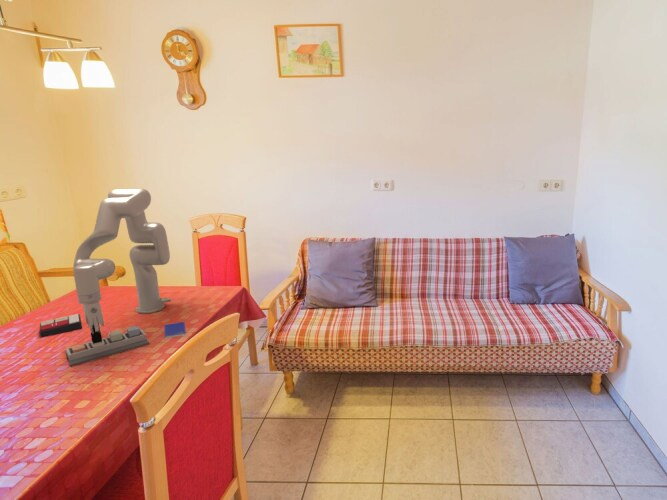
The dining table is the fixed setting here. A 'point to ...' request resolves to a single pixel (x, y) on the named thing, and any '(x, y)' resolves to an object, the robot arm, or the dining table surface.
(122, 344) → the keypad
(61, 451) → the dining table surface
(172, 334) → the hard drive
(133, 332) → the key
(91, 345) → the key
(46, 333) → the calculator
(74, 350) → the key
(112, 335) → the key
